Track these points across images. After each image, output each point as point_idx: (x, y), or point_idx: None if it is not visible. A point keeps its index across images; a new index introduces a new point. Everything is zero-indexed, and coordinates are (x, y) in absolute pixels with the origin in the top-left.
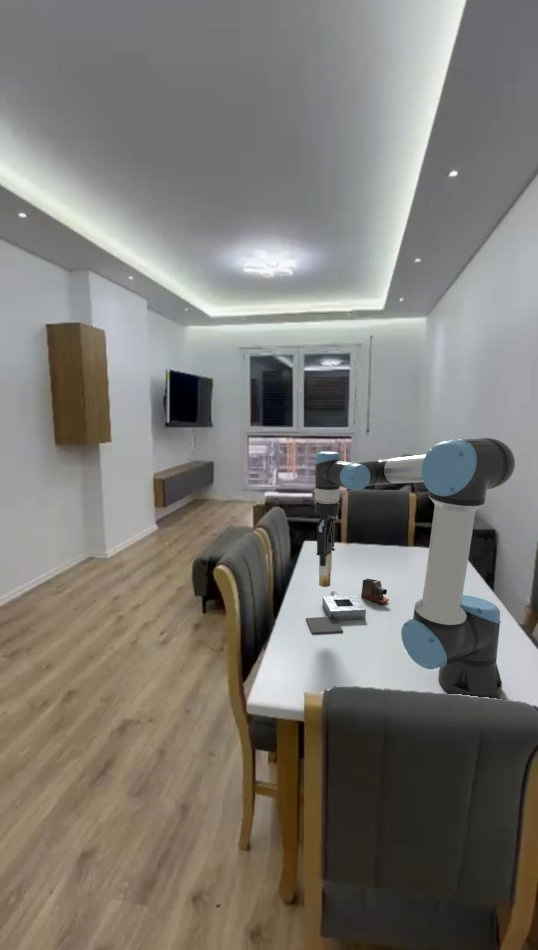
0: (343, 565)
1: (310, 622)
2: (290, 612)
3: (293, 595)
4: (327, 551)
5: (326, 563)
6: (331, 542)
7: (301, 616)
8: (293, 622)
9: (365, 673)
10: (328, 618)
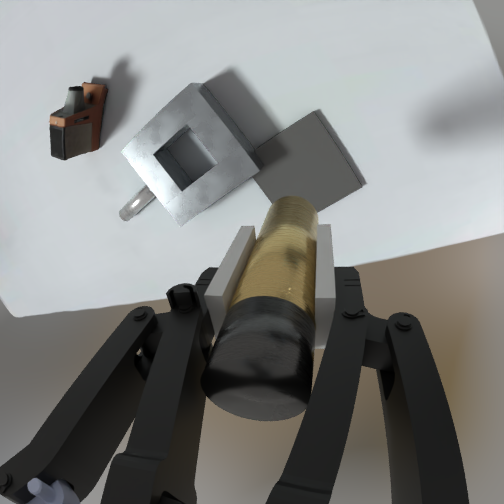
0: (21, 246)
1: None
2: None
3: None
4: (305, 326)
5: (333, 268)
6: (184, 356)
7: None
8: None
9: (466, 32)
10: (261, 172)
